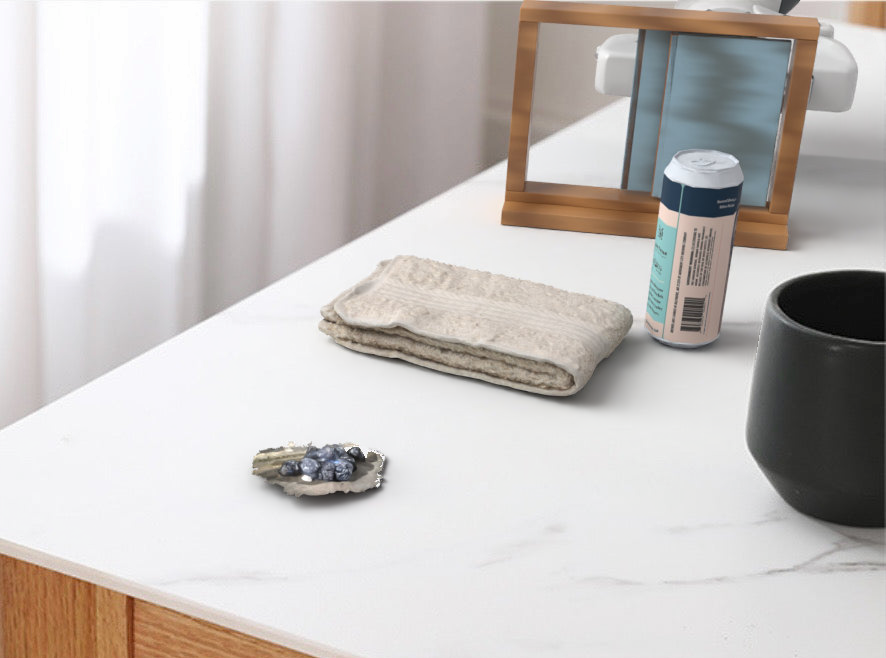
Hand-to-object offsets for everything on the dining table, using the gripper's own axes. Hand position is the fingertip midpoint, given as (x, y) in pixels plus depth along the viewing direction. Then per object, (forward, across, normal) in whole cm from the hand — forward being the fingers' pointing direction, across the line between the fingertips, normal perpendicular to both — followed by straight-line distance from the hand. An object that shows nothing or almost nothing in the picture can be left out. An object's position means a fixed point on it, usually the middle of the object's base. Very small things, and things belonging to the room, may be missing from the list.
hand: (725, 99), depth 120 cm
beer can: (+26, -2, +9) cm, 28 cm away
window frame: (+5, -5, +8) cm, 11 cm away
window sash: (+2, -3, +6) cm, 7 cm away
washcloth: (+30, -15, +9) cm, 35 cm away
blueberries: (+49, -21, +9) cm, 54 cm away
